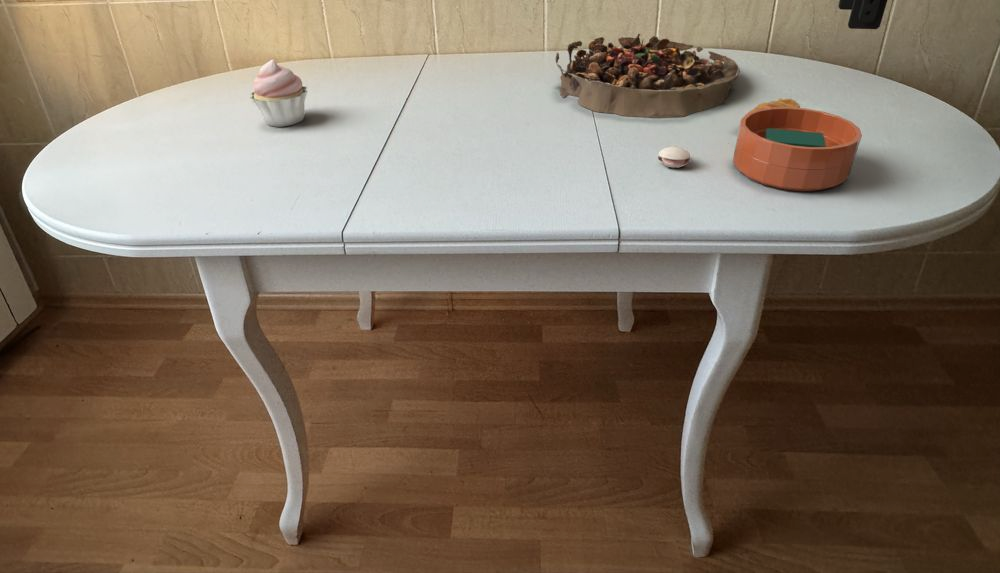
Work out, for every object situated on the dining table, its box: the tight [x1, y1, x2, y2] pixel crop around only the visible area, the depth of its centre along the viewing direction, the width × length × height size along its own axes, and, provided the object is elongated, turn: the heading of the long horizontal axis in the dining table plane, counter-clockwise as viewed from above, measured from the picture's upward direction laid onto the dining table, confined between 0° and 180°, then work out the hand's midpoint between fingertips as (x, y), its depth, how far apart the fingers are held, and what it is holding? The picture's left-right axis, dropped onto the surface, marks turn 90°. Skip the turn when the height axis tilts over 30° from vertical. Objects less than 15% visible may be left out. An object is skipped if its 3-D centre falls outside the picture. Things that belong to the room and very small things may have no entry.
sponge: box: [765, 128, 826, 147], centre depth 82 cm, size 7×4×4 cm, turn 72°
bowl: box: [733, 107, 863, 192], centre depth 82 cm, size 14×14×6 cm
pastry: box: [747, 98, 801, 113], centre depth 95 cm, size 9×7×4 cm
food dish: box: [555, 33, 741, 119], centre depth 113 cm, size 35×33×8 cm
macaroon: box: [657, 146, 691, 169], centre depth 86 cm, size 4×5×2 cm
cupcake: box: [249, 59, 308, 128], centre depth 102 cm, size 9×9×10 cm
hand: (857, 18), depth 74 cm, fingers open, 9 cm apart
